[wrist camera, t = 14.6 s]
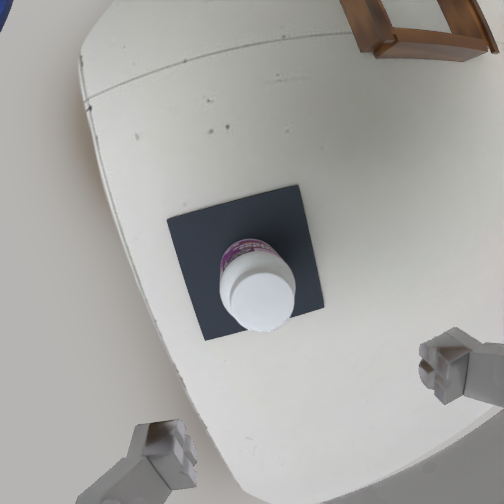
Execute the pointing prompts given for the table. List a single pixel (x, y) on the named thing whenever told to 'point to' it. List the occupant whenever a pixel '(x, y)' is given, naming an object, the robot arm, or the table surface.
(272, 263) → the pill bottle
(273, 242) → the coaster
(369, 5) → the wooden square frame
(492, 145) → the table surface
